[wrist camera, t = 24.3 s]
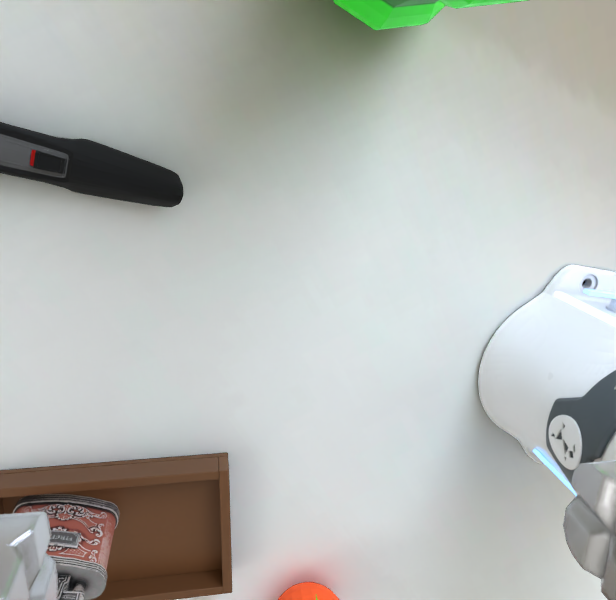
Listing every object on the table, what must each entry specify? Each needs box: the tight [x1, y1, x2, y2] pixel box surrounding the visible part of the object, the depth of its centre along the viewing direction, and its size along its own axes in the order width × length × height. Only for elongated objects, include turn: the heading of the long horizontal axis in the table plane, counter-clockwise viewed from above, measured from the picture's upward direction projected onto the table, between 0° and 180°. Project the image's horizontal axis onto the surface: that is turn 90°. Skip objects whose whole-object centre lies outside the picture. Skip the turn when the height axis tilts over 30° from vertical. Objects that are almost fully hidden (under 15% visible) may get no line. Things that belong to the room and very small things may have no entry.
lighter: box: [13, 494, 120, 600], centre depth 43 cm, size 8×3×10 cm, turn 77°
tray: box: [0, 453, 232, 600], centre depth 48 cm, size 19×13×2 cm
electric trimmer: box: [0, 122, 183, 207], centre depth 38 cm, size 4×16×3 cm, turn 74°
